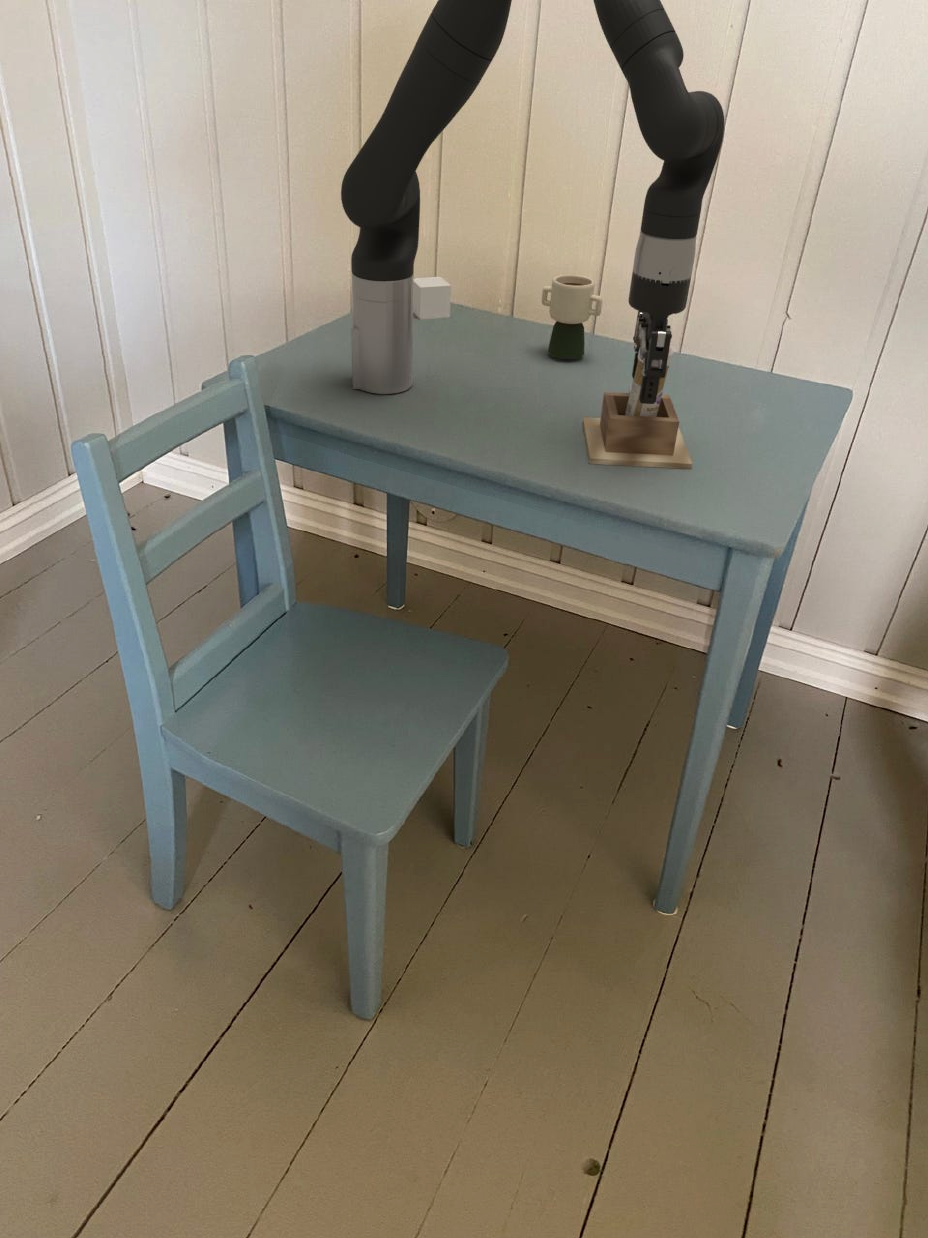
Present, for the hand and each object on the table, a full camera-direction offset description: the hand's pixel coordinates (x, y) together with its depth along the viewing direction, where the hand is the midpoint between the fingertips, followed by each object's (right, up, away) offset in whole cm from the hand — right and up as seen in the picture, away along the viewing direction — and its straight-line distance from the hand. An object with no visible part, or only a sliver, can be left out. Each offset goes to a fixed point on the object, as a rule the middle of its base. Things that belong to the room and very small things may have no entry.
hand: (643, 390), depth 128 cm
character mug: (-7, +14, +33) cm, 37 cm away
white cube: (-31, +27, +50) cm, 65 cm away
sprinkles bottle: (0, -6, +4) cm, 7 cm away
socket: (0, -7, +5) cm, 8 cm away
